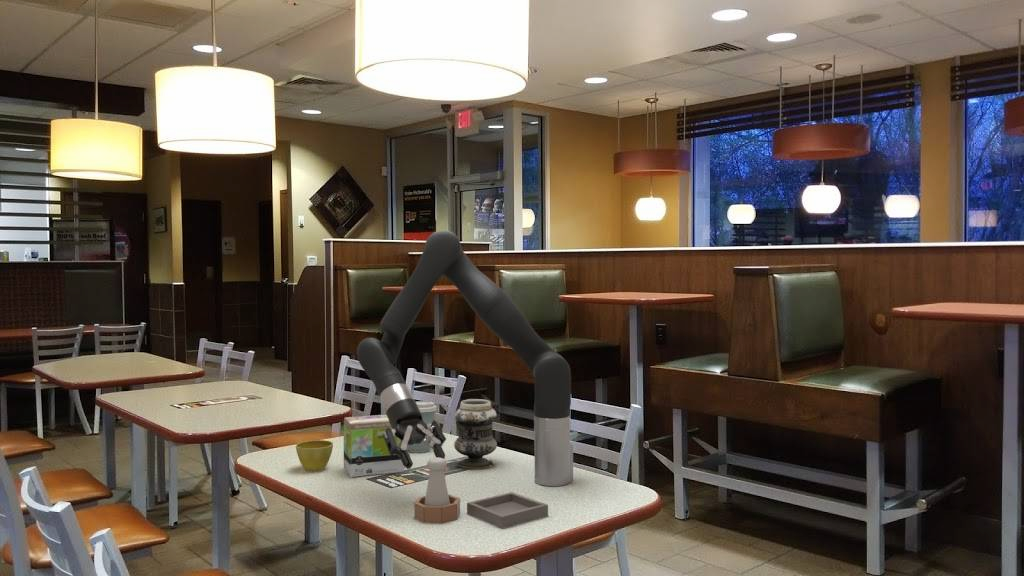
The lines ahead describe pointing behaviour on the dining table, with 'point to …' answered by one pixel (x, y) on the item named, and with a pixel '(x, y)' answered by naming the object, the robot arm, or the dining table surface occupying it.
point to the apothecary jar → (475, 433)
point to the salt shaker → (436, 483)
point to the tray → (507, 509)
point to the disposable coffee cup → (427, 416)
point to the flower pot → (314, 454)
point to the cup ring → (437, 511)
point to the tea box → (368, 447)
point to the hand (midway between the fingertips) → (426, 463)
